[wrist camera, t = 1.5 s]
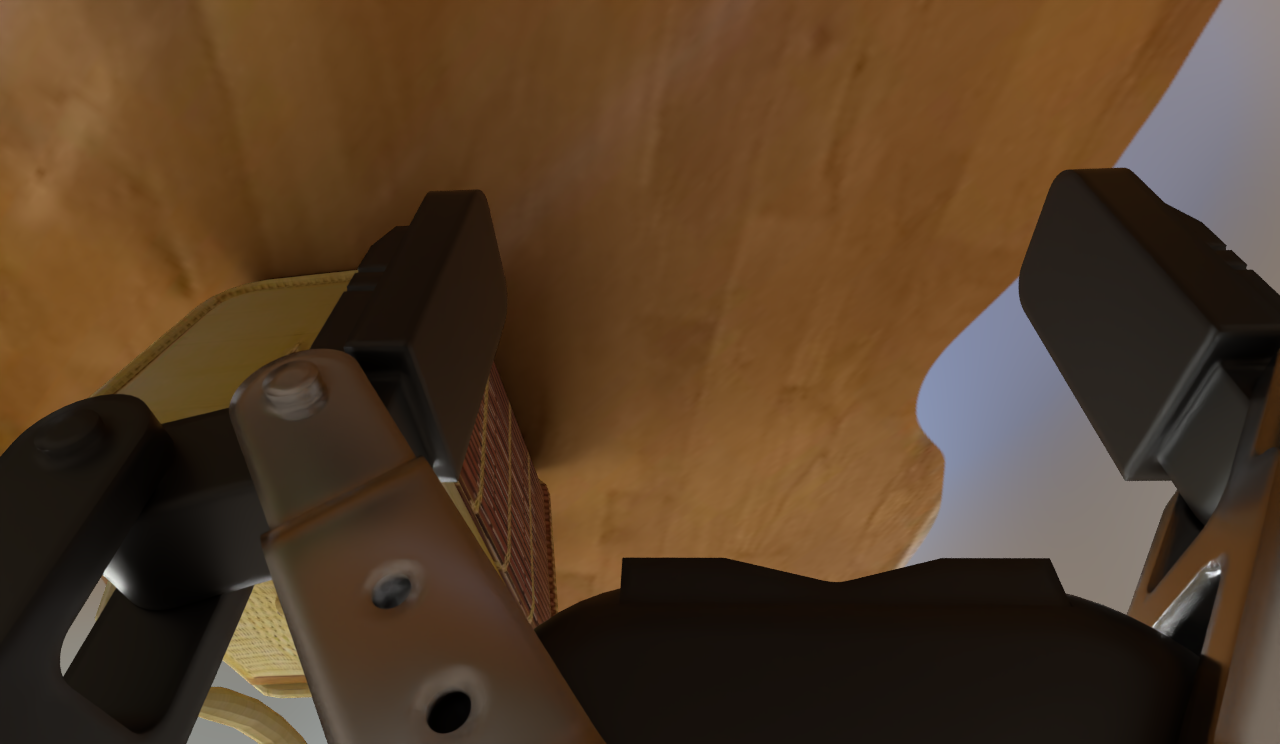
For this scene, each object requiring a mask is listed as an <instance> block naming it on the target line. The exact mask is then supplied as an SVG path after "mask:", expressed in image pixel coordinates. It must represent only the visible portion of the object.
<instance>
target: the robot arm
mask: <svg viewBox="0 0 1280 744" xmlns="http://www.w3.org/2000/svg"><path fill="white" fill-rule="evenodd" d="M1246 266H1247V264H1246V263H1245V262H1244V261H1242V260H1241V259H1240V258H1239V257H1238V256H1237V255H1236V254H1235V253H1234V252H1233V251H1232V250H1226V245H1225V244H1224V243H1223V242H1222V241H1221V240H1220V239H1219V238H1218V237H1217V236H1216V235H1215V234H1214V233H1213V232H1212V231H1211V230H1209V228H1207V227H1206V226H1205V225H1204V224H1203V223H1202V222H1200V221H1198V220H1197V219H1195V218H1193V217H1191V216H1189V215H1187V214H1185V213H1183V212H1181V211H1179V210H1177V209H1175V208H1173V207H1171V206H1169V205H1168V204H1166V203H1164V202H1163V201H1162V200H1161V199H1160V198H1159V197H1158V196H1157V195H1156V194H1155V193H1154V192H1153V191H1152V190H1151V189H1150V188H1149V187H1148V186H1147V185H1146V184H1145V183H1144V182H1143V181H1142V180H1141V179H1140V178H1139V177H1138V176H1137V175H1135V174H1134V173H1133V172H1132V171H1131V170H1130V169H1127V168H1101V169H1073V170H1064V171H1062V172H1061V173H1060V174H1059V175H1058V176H1057V177H1056V178H1055V179H1054V181H1053V183H1052V185H1051V187H1050V189H1049V192H1048V194H1047V197H1046V200H1045V203H1044V205H1043V208H1042V211H1041V214H1040V217H1039V219H1038V222H1037V225H1036V228H1035V230H1034V233H1033V236H1032V239H1031V241H1030V244H1029V247H1028V250H1027V253H1026V255H1025V258H1024V261H1023V264H1022V267H1021V270H1020V275H1019V297H1020V302H1021V305H1022V308H1023V310H1024V312H1025V313H1026V315H1027V317H1028V318H1029V320H1030V322H1031V324H1032V325H1033V327H1034V329H1035V330H1036V332H1037V334H1038V335H1039V337H1040V339H1041V340H1042V342H1043V344H1044V345H1045V347H1046V349H1047V350H1048V352H1049V353H1050V355H1051V357H1052V359H1053V360H1054V362H1055V364H1056V365H1057V367H1058V369H1059V371H1060V372H1061V374H1062V375H1063V377H1064V379H1065V381H1066V382H1067V384H1068V386H1069V387H1070V389H1071V391H1072V392H1073V394H1074V396H1075V397H1076V399H1077V401H1078V402H1079V404H1080V406H1081V408H1082V409H1083V411H1084V413H1085V414H1086V416H1087V418H1088V419H1089V421H1090V423H1091V424H1092V426H1093V428H1094V429H1095V431H1096V433H1097V434H1098V436H1099V438H1100V439H1101V441H1102V443H1103V444H1104V446H1105V447H1106V449H1107V451H1108V453H1109V455H1110V456H1111V458H1112V459H1113V461H1114V463H1115V465H1116V466H1117V468H1118V470H1119V471H1120V473H1121V475H1122V476H1123V478H1124V480H1125V481H1163V480H1164V481H1170V480H1171V481H1172V482H1173V483H1174V485H1175V487H1176V488H1177V491H1176V492H1175V494H1174V495H1173V497H1172V498H1171V499H1170V501H1169V502H1168V504H1167V505H1166V507H1165V509H1164V511H1163V514H1162V517H1161V519H1160V522H1159V525H1158V528H1157V531H1156V534H1155V536H1154V539H1153V542H1152V545H1151V548H1150V551H1149V553H1148V556H1147V559H1146V562H1145V565H1144V568H1143V571H1142V573H1141V576H1140V579H1139V582H1138V585H1137V588H1136V590H1135V593H1134V596H1133V599H1132V602H1131V605H1130V607H1129V610H1128V612H1127V615H1125V614H1123V613H1121V612H1119V611H1116V610H1114V609H1111V608H1109V607H1107V606H1104V605H1101V604H1099V603H1096V602H1093V601H1089V600H1086V599H1083V598H1080V597H1077V596H1074V595H1070V594H1066V593H1065V591H1064V589H1063V587H1062V585H1061V582H1060V581H1059V578H1058V576H1057V573H1056V571H1055V569H1054V567H1053V565H1052V562H1051V560H1050V559H1049V558H1043V559H1042V558H1022V559H1021V558H1012V559H1011V558H940V559H937V560H932V561H928V562H924V563H920V564H916V565H912V566H907V567H903V568H899V569H895V570H891V571H887V572H883V573H878V574H874V575H870V576H866V577H862V578H858V579H854V580H850V581H844V582H828V581H823V580H818V579H814V578H810V577H805V576H801V575H797V574H792V573H788V572H784V571H779V570H775V569H770V568H766V567H762V566H757V565H753V564H749V563H744V562H740V561H736V560H731V559H727V558H623V559H622V574H621V588H620V589H616V590H613V591H609V592H605V593H602V594H599V595H596V596H594V597H591V598H588V599H586V600H583V601H580V602H578V603H576V604H574V605H572V606H571V607H569V608H567V609H565V610H563V611H561V612H559V613H557V614H555V615H554V616H552V617H551V618H549V619H548V620H546V621H545V622H543V623H542V624H540V625H539V626H537V627H536V628H534V629H533V628H532V627H531V625H530V623H529V622H528V620H527V619H526V617H525V615H524V614H523V612H522V611H521V609H520V608H519V606H518V604H517V603H516V601H515V600H514V598H513V596H512V595H511V593H510V592H509V590H508V588H507V587H506V585H505V584H504V582H503V580H502V579H501V577H500V576H499V574H498V572H497V571H496V569H495V568H494V566H493V565H492V563H491V561H490V560H489V558H488V557H487V555H486V553H485V552H484V550H483V549H482V547H481V545H480V544H479V542H478V541H477V539H476V537H475V536H474V534H473V533H472V531H471V529H470V528H469V526H468V525H467V523H466V522H465V520H464V518H463V517H462V515H461V514H460V512H459V510H458V509H457V507H456V506H455V504H454V502H453V501H452V499H451V498H450V496H449V494H448V493H447V491H446V490H445V488H444V487H443V485H442V483H441V482H458V479H459V476H460V472H461V469H462V465H463V462H464V459H465V455H466V452H467V448H468V445H469V442H470V438H471V435H472V432H473V428H474V425H475V421H476V418H477V415H478V411H479V408H480V404H481V401H482V398H483V394H484V391H485V388H486V384H487V381H488V377H489V374H490V371H491V367H492V364H493V360H494V357H495V354H496V350H497V347H498V343H499V340H500V337H501V333H502V330H503V327H504V323H505V319H506V314H507V287H506V280H505V275H504V271H503V266H502V262H501V258H500V253H499V249H498V245H497V240H496V236H495V231H494V227H493V223H492V218H491V214H490V209H489V205H488V202H487V199H486V197H485V195H484V193H483V192H482V191H481V190H453V191H430V192H428V193H427V194H426V196H425V198H424V200H423V201H422V203H421V205H420V207H419V209H418V210H417V212H416V214H415V216H414V218H413V220H412V221H411V223H410V225H409V226H396V227H395V228H394V229H392V230H391V231H390V232H388V233H387V234H386V235H385V236H383V237H382V238H381V239H379V240H378V241H377V242H376V243H374V244H373V245H372V246H371V247H370V248H369V250H368V252H367V253H366V255H365V257H364V258H363V260H362V262H361V263H360V265H359V267H358V273H355V274H354V275H353V277H352V279H351V280H350V282H349V284H348V285H347V291H344V292H343V294H342V295H341V297H340V299H339V300H338V302H337V304H336V305H335V307H334V309H333V310H332V312H331V314H330V315H329V317H328V319H327V320H326V322H325V324H324V325H323V327H322V329H321V330H320V332H319V334H318V335H317V337H316V339H315V340H314V342H313V344H312V345H311V347H310V349H309V350H303V351H299V352H295V353H291V354H288V355H285V356H283V357H280V358H278V359H276V360H274V361H271V362H269V363H268V364H266V365H264V366H262V367H261V368H259V369H258V370H256V371H255V372H254V373H252V374H251V375H250V376H249V377H248V378H247V379H245V380H244V381H243V382H242V384H241V385H240V386H239V387H238V388H237V390H236V391H235V393H234V395H233V396H232V399H231V402H230V405H229V408H225V409H221V410H217V411H213V412H209V413H205V414H200V415H196V416H192V417H188V418H184V419H180V420H176V421H171V422H167V423H163V424H161V423H160V422H159V421H158V419H157V418H156V417H155V415H154V414H153V413H152V411H151V410H150V409H149V407H148V406H147V405H146V403H145V402H144V401H142V400H141V399H140V398H137V397H135V396H132V395H126V394H108V395H100V396H96V397H91V398H87V399H84V400H81V401H78V402H75V403H72V404H70V405H67V406H65V407H63V408H61V409H59V410H57V411H55V412H53V413H51V414H49V415H47V416H46V417H44V418H42V419H41V420H39V421H38V422H36V423H35V424H33V425H32V426H31V427H29V428H28V429H27V430H26V431H24V432H23V433H22V434H21V435H20V436H19V437H18V438H17V439H16V440H15V441H14V442H13V443H12V444H11V445H10V446H9V447H8V449H7V450H6V451H5V452H4V453H3V454H2V456H1V457H0V744H186V743H187V741H188V738H189V736H190V734H191V731H192V728H193V727H194V724H195V722H196V720H197V718H198V715H199V713H200V711H201V708H202V706H203V704H204V701H205V699H206V697H207V694H208V692H209V690H210V687H211V685H212V683H213V680H214V678H215V676H216V674H217V671H218V669H219V667H220V664H221V662H222V660H223V657H224V655H225V653H226V650H227V648H228V646H229V643H230V641H231V639H232V637H233V634H234V632H235V630H236V627H237V625H238V623H239V620H240V618H241V616H242V613H243V611H244V609H245V606H246V604H247V602H248V599H249V597H250V595H251V593H252V590H253V588H254V586H255V585H256V584H259V583H263V582H266V581H270V580H273V583H274V586H275V589H276V592H277V595H278V598H279V601H280V604H281V607H282V610H283V613H284V616H285V619H286V622H287V625H288V628H289V631H290V633H291V636H292V639H293V642H294V645H295V648H296V651H297V654H298V657H299V660H300V663H301V666H302V669H303V672H304V675H305V678H306V681H307V684H308V687H309V690H310V693H311V695H312V698H313V701H314V704H315V707H316V710H317V713H318V716H319V719H320V722H321V725H322V728H323V731H324V734H325V737H326V739H327V743H328V744H1280V295H1279V294H1278V293H1276V291H1275V290H1273V289H1272V288H1271V287H1270V286H1269V285H1268V284H1267V283H1266V282H1265V281H1264V280H1263V279H1262V278H1261V277H1260V276H1259V275H1258V274H1256V273H1255V272H1254V271H1253V270H1247V269H1246ZM102 575H104V576H105V577H106V578H107V579H108V580H109V581H110V582H111V583H112V584H113V585H114V586H115V587H116V589H115V590H114V592H113V594H112V596H111V597H110V599H109V601H108V602H107V604H106V606H105V607H104V609H103V611H102V612H101V614H100V616H99V617H98V619H97V621H96V623H95V624H94V626H93V628H92V629H91V631H90V633H89V635H88V636H87V638H86V640H85V641H84V643H83V644H82V646H81V648H80V649H79V651H78V653H77V655H76V656H75V658H74V660H73V662H72V663H71V665H70V667H69V668H68V670H67V671H66V673H65V675H64V676H62V673H61V669H60V653H61V648H62V644H63V641H64V638H65V636H66V633H67V632H68V630H69V628H70V626H71V625H72V623H73V622H74V620H75V618H76V617H77V615H78V613H79V612H80V610H81V609H82V607H83V605H84V604H85V602H86V601H87V599H88V597H89V596H90V594H91V592H92V591H93V589H94V587H95V586H96V584H97V583H98V581H99V579H100V578H101V576H102Z"/></svg>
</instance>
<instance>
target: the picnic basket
mask: <svg viewBox="0 0 1280 744" xmlns="http://www.w3.org/2000/svg"><path fill="white" fill-rule="evenodd" d="M355 273H358V270H352V271H343V272H334V273H325V274H316V275H306V276H297V277H288V278H279V279H270V280H264V281H258V282H253V283H248V284H245V285H241V286H238V287H235V288H232V289H229V290H227V291H224V292H222V293H220V294H218V295H215V296H213V297H211V298H209V299H208V300H206V301H205V302H203V303H202V304H200V305H199V306H197V307H196V308H195V309H194V310H192V311H191V312H190V313H189V314H188V315H186V316H185V317H184V318H183V319H182V320H180V321H179V322H178V323H177V324H176V325H174V326H173V327H172V328H171V329H170V330H169V331H167V332H166V333H165V334H164V335H163V336H161V337H160V338H159V339H158V340H157V341H155V342H154V343H153V344H152V345H151V346H149V347H148V348H147V349H146V350H145V351H144V352H142V353H141V354H140V355H139V356H138V357H136V358H135V359H134V360H133V361H132V362H130V363H129V364H128V365H127V366H126V367H124V368H123V369H122V370H121V371H120V372H119V373H117V374H116V375H115V376H114V377H113V378H111V379H110V380H109V381H108V382H107V383H105V384H104V385H103V386H102V387H101V388H99V389H98V390H97V391H96V392H95V393H94V394H92V395H91V396H90V397H89V398H91V397H96V396H100V395H108V394H126V395H132V396H135V397H137V398H140V399H141V400H142V401H144V402H145V403H146V405H147V406H148V407H149V409H150V410H151V411H152V413H153V414H154V415H155V417H156V418H157V419H158V421H159V422H160V423H161V424H163V423H167V422H171V421H176V420H180V419H184V418H188V417H192V416H196V415H200V414H205V413H209V412H213V411H217V410H221V409H225V408H229V405H230V402H231V399H232V396H233V395H234V393H235V391H236V390H237V388H238V387H239V386H240V385H241V384H242V382H243V381H244V380H245V379H247V378H248V377H249V376H250V375H251V374H252V373H254V372H255V371H256V370H258V369H259V368H261V367H262V366H264V365H266V364H268V363H269V362H271V361H274V360H276V359H278V358H280V357H283V356H285V355H288V354H291V353H295V352H299V351H303V350H309V349H310V347H311V345H312V344H313V342H314V340H315V339H316V337H317V335H318V334H319V332H320V330H321V329H322V327H323V325H324V324H325V322H326V320H327V319H328V317H329V315H330V314H331V312H332V310H333V309H334V307H335V305H336V304H337V302H338V300H339V299H340V297H341V295H342V294H343V292H344V291H347V285H348V284H349V282H350V280H351V279H352V277H353V275H354V274H355ZM441 483H442V485H443V487H444V488H445V490H446V491H447V493H448V494H449V496H450V498H451V499H452V501H453V502H454V504H455V506H456V507H457V509H458V510H459V512H460V514H461V515H462V517H463V518H464V520H465V522H466V523H467V525H468V526H469V528H470V529H471V531H472V533H473V534H474V536H475V537H476V539H477V541H478V542H479V544H480V545H481V547H482V549H483V550H484V552H485V553H486V555H487V557H488V558H489V560H490V561H491V563H492V565H493V566H494V568H495V569H496V571H497V572H498V574H499V576H500V577H501V579H502V580H503V582H504V584H505V585H506V587H507V588H508V590H509V592H510V593H511V595H512V596H513V598H514V600H515V601H516V603H517V604H518V606H519V608H520V609H521V611H522V612H523V614H524V615H525V617H526V619H527V620H528V622H529V623H530V625H531V627H532V628H533V629H534V628H536V627H537V626H539V625H540V624H542V623H543V622H545V621H546V620H548V619H549V618H551V617H552V616H554V615H555V614H557V613H558V602H557V588H556V573H555V559H554V545H553V531H552V516H551V502H550V494H549V491H548V488H547V486H546V484H544V483H543V482H542V481H541V480H540V479H539V478H538V476H537V474H536V471H535V469H534V466H533V463H532V461H531V458H530V455H529V453H528V450H527V447H526V445H525V442H524V439H523V437H522V434H521V431H520V429H519V426H518V424H517V421H516V418H515V416H514V413H513V410H512V408H511V405H510V402H509V400H508V397H507V394H506V392H505V389H504V386H503V384H502V381H501V379H500V376H499V373H498V371H497V368H496V365H495V363H494V360H493V364H492V367H491V371H490V374H489V377H488V381H487V384H486V388H485V391H484V394H483V398H482V401H481V404H480V408H479V411H478V415H477V418H476V421H475V425H474V428H473V432H472V435H471V438H470V442H469V445H468V448H467V452H466V455H465V459H464V462H463V465H462V469H461V472H460V476H459V479H458V482H441ZM115 589H116V587H115V586H114V585H113V584H112V583H111V582H110V581H109V580H108V582H107V585H106V588H105V591H104V594H103V597H102V600H101V603H100V605H99V608H98V611H97V614H96V617H95V621H97V619H98V617H99V616H100V614H101V612H102V611H103V609H104V607H105V606H106V604H107V602H108V601H109V599H110V597H111V596H112V594H113V592H114V590H115ZM223 661H224V662H225V663H227V664H228V665H229V666H230V667H231V668H232V669H234V670H235V671H236V672H237V673H238V674H239V675H241V676H242V677H243V678H244V679H245V680H247V681H248V682H249V683H250V684H251V685H254V687H255V688H256V689H257V690H258V691H260V692H261V693H262V694H263V695H265V696H271V697H277V698H301V697H312V695H311V693H310V690H309V687H308V684H307V681H306V678H305V675H304V672H303V669H302V666H301V663H300V660H299V657H298V654H297V651H296V648H295V645H294V642H293V639H292V636H291V633H290V631H289V628H288V625H287V622H286V619H285V616H284V613H283V610H282V607H281V604H280V601H279V598H278V595H277V592H276V589H275V586H274V583H273V580H270V581H266V582H263V583H259V584H256V585H255V586H254V588H253V590H252V593H251V595H250V597H249V599H248V602H247V604H246V606H245V609H244V611H243V613H242V616H241V618H240V620H239V623H238V625H237V627H236V630H235V632H234V634H233V637H232V639H231V641H230V643H229V646H228V648H227V650H226V653H225V655H224V657H223ZM198 717H201V718H204V719H207V720H210V721H213V722H217V723H220V724H224V725H227V726H230V727H234V728H236V729H237V730H239V731H240V732H242V733H243V734H245V735H247V736H248V737H250V738H251V739H253V740H255V741H256V742H257V743H259V744H307V743H306V741H305V740H304V739H303V737H302V736H301V735H300V734H299V733H298V732H297V731H296V730H295V729H294V728H293V727H292V726H291V725H290V724H289V723H288V722H287V721H286V720H285V719H284V718H283V717H282V716H280V715H279V714H278V713H276V712H275V711H273V710H272V709H271V708H269V707H268V706H266V705H265V704H263V703H262V702H261V701H259V700H257V699H255V698H252V697H249V696H246V695H243V694H241V693H238V692H235V691H233V690H230V689H227V688H222V687H210V690H209V692H208V694H207V697H206V699H205V701H204V704H203V706H202V708H201V711H200V713H199V715H198Z"/></svg>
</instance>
